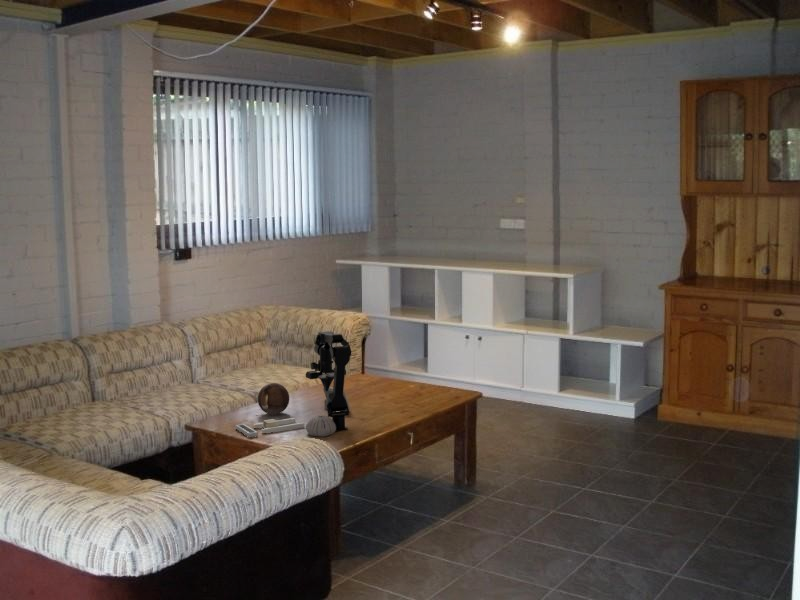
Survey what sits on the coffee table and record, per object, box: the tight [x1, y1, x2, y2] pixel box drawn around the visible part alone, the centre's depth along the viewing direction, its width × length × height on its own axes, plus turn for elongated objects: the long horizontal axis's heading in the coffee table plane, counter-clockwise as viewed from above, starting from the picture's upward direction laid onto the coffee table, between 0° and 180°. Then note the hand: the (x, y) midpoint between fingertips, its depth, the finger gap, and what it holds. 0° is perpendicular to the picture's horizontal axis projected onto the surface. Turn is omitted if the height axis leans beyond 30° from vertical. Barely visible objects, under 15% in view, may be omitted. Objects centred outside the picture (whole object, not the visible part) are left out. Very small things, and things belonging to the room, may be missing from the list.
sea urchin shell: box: [305, 415, 337, 438], centre depth 397 cm, size 13×14×8 cm
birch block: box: [262, 418, 279, 429], centre depth 404 cm, size 5×5×4 cm
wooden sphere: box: [257, 382, 290, 416], centre depth 430 cm, size 15×15×15 cm
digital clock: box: [323, 386, 351, 412], centre depth 439 cm, size 16×9×11 cm, turn 28°
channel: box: [252, 417, 305, 434], centre depth 407 cm, size 11×20×2 cm, turn 121°
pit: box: [235, 423, 259, 438], centre depth 399 cm, size 16×4×2 cm, turn 31°
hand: (326, 391), depth 421 cm, fingers closed
